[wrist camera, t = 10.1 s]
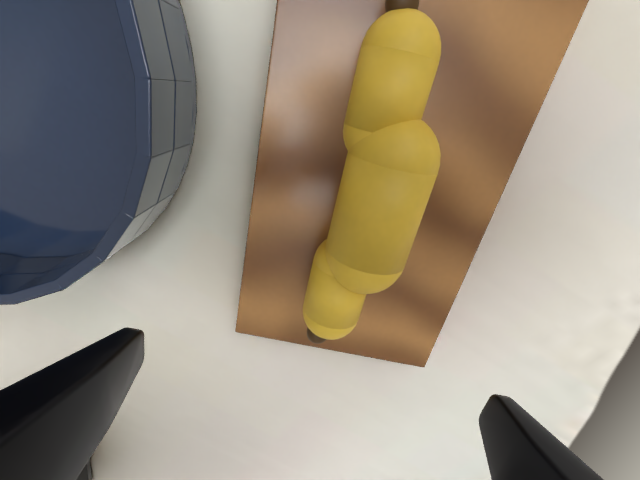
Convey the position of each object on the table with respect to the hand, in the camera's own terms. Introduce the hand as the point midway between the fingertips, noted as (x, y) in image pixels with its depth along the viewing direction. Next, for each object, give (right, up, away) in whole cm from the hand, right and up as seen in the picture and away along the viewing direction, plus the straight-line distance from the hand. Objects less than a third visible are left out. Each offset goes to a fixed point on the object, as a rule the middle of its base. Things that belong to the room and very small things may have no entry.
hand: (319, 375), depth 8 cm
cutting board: (+3, +6, +9) cm, 11 cm away
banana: (+3, +5, +8) cm, 10 cm away
